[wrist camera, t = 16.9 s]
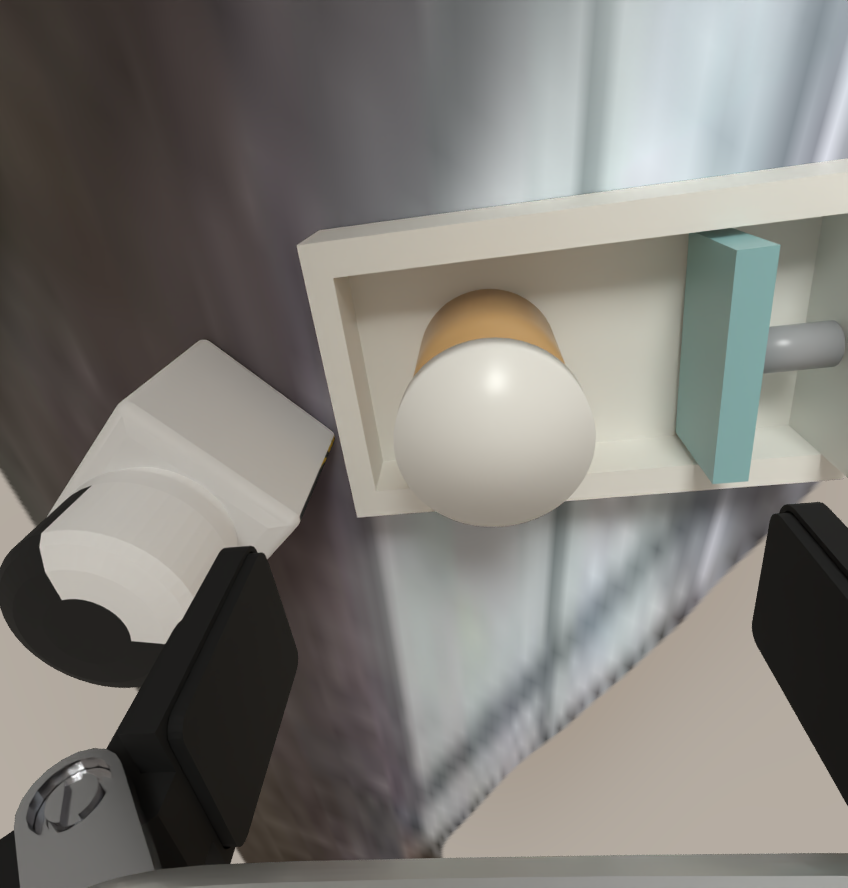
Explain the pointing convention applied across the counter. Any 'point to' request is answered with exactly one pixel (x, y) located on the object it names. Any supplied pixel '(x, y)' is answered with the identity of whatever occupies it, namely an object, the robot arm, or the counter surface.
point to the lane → (590, 320)
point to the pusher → (736, 348)
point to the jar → (493, 414)
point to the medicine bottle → (160, 515)
